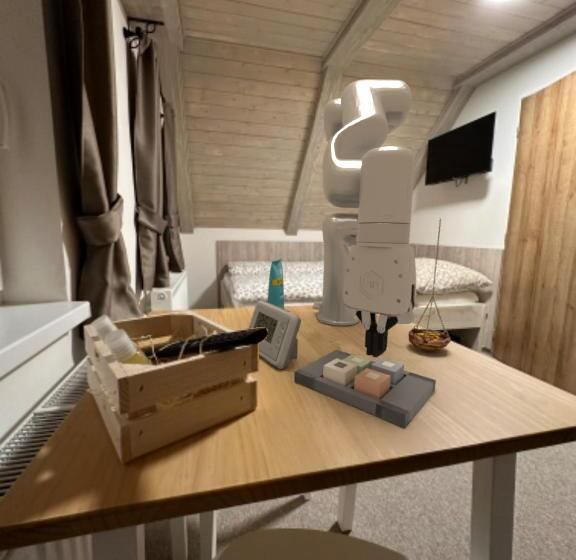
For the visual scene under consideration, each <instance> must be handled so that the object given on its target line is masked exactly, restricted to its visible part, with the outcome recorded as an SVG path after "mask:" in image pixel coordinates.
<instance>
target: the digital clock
mask: <svg viewBox="0 0 576 560" xmlns="http://www.w3.org/2000/svg"><path fill="white" fill-rule="evenodd" d="M301 324H302V319H301V317H300V316H298V315H297V314H294V313H292V312H291V311H290V310H288V309H285V308H284V309H283V308H280V307H278V306H276V305H273V304H271V303H268V302H266V301H264V300H259V301H257V303H256V304H255V307H254V309H253V312H252V316H251V319H250V322H249V325H248V327H247V328H248V329H251V328H256V327H266V328H267V329H268V336H267V338H266V339H265V340H264V341H263V342H261V343H260V344H259V355H258V356H259V357H261V358H262V359H263V360H265V361H266V362H267V363H269V364H270V365H271V366H274V367H276V368H277V369H279V370H284V369H285V368H287V366H288V364H289V363H290V362H289V361H293V360H298V355H299V354H298V351H299V340H298V338H297V337H298V333H299V331H300V327H301ZM248 329H247V330H248Z"/></svg>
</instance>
